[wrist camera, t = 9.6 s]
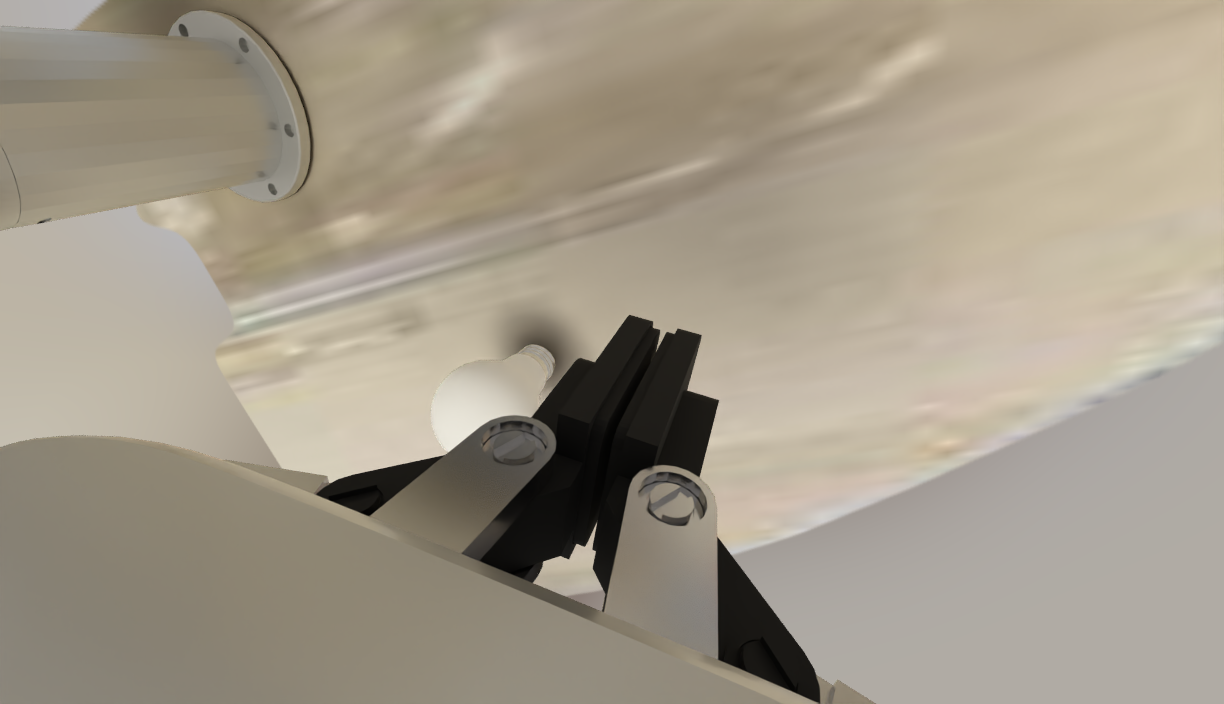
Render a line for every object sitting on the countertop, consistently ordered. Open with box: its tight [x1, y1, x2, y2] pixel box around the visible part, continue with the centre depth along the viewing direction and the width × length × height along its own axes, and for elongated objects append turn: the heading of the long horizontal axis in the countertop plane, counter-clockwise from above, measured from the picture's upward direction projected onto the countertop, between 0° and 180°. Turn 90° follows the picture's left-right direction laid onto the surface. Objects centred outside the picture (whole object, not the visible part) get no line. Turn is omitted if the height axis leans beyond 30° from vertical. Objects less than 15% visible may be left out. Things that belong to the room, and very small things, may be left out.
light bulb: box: [431, 344, 555, 453], centre depth 34 cm, size 7×7×11 cm
